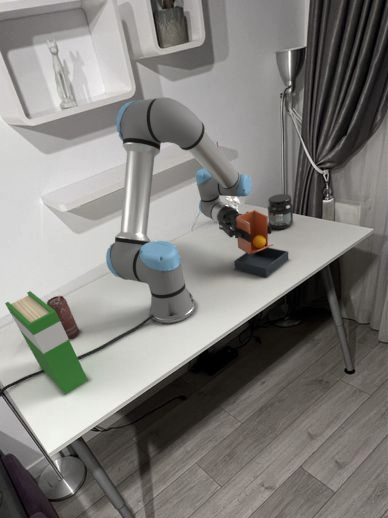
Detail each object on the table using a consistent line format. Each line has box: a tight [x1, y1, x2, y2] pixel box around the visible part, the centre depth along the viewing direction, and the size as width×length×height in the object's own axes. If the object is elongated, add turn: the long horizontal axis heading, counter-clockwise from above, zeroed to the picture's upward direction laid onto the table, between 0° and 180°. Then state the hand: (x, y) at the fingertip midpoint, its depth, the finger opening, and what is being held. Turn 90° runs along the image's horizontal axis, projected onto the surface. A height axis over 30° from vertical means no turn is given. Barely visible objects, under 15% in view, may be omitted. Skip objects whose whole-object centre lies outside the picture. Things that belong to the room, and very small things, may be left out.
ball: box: [253, 235, 266, 248], centre depth 145 cm, size 5×5×5 cm
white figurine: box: [224, 196, 241, 212], centre depth 186 cm, size 8×7×12 cm
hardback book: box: [5, 290, 89, 395], centre depth 112 cm, size 18×7×24 cm, turn 41°
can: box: [46, 295, 80, 341], centre depth 132 cm, size 6×6×14 cm
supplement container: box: [267, 193, 294, 231], centre depth 172 cm, size 10×10×12 cm
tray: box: [233, 247, 289, 278], centre depth 149 cm, size 14×14×4 cm
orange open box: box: [236, 209, 274, 255], centre depth 143 cm, size 12×8×12 cm
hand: (260, 234), depth 141 cm, fingers closed on orange open box, 8 cm apart
